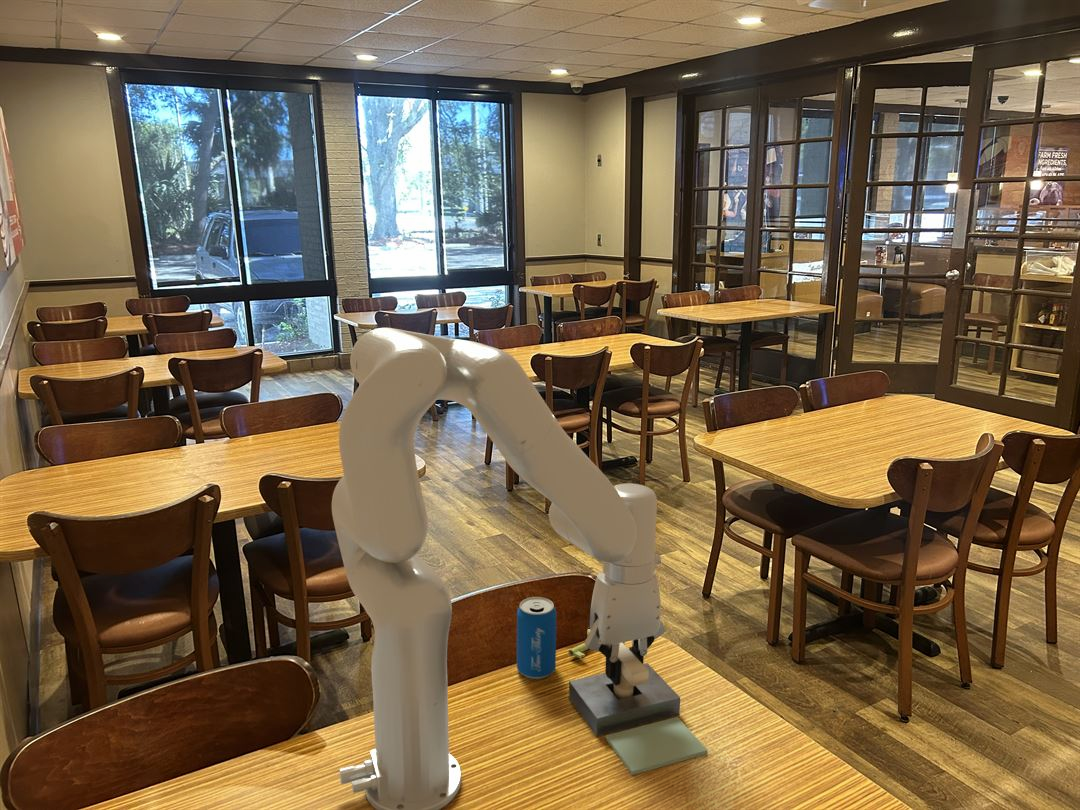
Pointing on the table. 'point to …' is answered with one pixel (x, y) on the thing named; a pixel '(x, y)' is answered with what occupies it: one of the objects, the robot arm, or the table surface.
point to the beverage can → (536, 637)
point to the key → (580, 649)
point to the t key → (629, 673)
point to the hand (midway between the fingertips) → (623, 676)
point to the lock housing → (622, 702)
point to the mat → (655, 745)
